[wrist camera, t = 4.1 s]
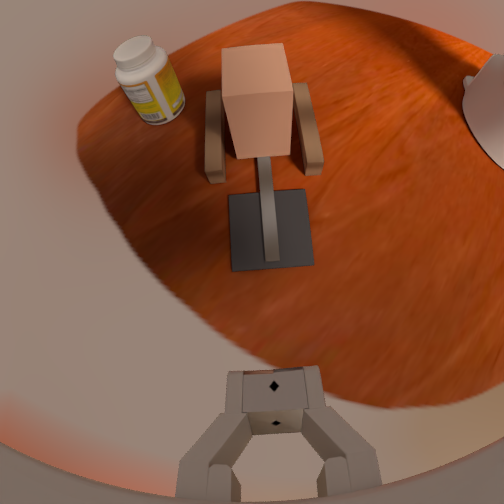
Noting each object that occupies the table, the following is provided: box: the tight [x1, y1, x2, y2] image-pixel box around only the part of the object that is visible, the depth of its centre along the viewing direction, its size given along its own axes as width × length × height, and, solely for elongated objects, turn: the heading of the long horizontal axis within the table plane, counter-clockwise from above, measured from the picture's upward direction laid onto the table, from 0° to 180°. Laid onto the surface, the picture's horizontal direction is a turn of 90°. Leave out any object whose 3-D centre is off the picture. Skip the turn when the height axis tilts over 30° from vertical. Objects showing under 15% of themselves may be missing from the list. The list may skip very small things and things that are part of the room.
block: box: [222, 43, 293, 159], centre depth 24 cm, size 6×5×9 cm
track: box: [205, 83, 324, 262], centre depth 28 cm, size 28×10×2 cm, turn 4°
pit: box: [229, 189, 314, 272], centre depth 26 cm, size 7×7×1 cm
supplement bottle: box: [113, 35, 185, 125], centre depth 26 cm, size 6×6×10 cm
